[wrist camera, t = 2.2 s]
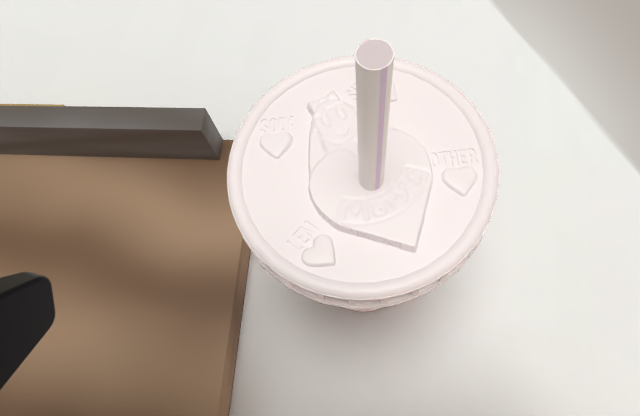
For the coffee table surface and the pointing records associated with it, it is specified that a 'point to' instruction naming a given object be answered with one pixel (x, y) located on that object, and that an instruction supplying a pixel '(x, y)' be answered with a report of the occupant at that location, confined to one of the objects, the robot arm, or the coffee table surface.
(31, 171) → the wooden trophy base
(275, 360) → the coffee table surface
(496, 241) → the coffee table surface
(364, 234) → the smoothie
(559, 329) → the coffee table surface
